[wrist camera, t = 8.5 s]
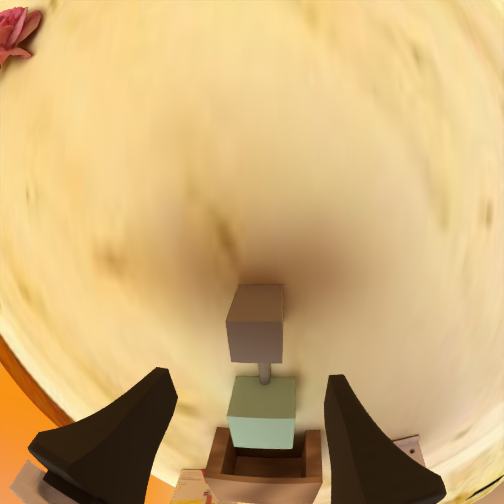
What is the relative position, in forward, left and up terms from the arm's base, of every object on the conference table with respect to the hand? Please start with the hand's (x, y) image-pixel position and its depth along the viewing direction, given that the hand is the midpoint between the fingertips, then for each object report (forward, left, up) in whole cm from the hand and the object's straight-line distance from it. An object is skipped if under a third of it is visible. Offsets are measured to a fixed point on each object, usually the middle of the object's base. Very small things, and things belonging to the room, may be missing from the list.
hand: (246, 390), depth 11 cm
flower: (+25, -28, -9) cm, 39 cm away
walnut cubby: (0, +20, -8) cm, 21 cm away
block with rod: (0, +6, -8) cm, 10 cm away
